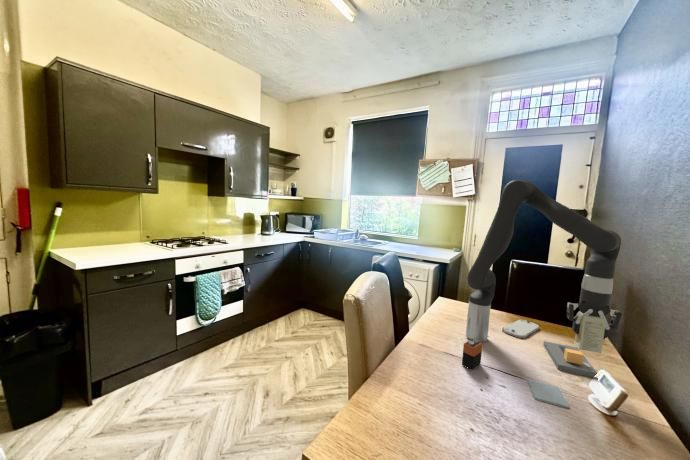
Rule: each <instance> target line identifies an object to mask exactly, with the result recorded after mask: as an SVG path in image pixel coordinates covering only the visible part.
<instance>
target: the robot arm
mask: <svg viewBox="0 0 690 460" xmlns="http://www.w3.org/2000/svg"><path fill="white" fill-rule="evenodd" d="M522 204H525V205H526V206H530V207H531V208H534V209H535V210H537V211H539V212H540V213H541V214H543V215H544V217H546V218H547V219H548V220H549V221H550V222H552V223H553V224H554V225H556V226H557V227H559V228H561V230H564V231H565V232H567V233H568V234H571V235H572V236H573V237H575V238H576V239H577V240H579V241H580V242H581V243H583V244H584V245H585V246H586V247H588V248H590V249H591V251H590V257H588V259H587V260H586V263H585V269H584V275H583V278H582V281H581V285H580V286H581V288H580V289H581V290H580V295H579V301H578V302H577V303H575V302H574V303H573V302H570V301H568V302H567V303H566V317H567V319H568V320H569V321H570V322H572V328H571V329H572V331H573V333H575V334H579V328H580V324H579V323H580V322H581V319H582V315H585V316H588V315H589V316H595V317H600V318H603V319H606V323H605V331H604V338H603V341H605V340H606V339H607V338H608V336H609V330H612V329H614V330H617V329H618V327H619V324H620V321H621V317H622V315H623V313H622V312H621V311H619V310H618V309H611V307H610V305H611V301H612V296H613V295H612V294H613V288H614V277H615V276H614V275H615V268H616V262H617V259H618V256H619V253H620V250H621V245H622V239H621V238H622V237H620V235H619V234H618V233H617V232H615V231H613V230H608V229H607V230H606V229H603V228H602V227H600V226H598V225H596V224H595V223H593V222H591V221H592V220H591V219H589V218H587V217H586V216H584V215H582V214H580V213H579V212H577V211H575V210H573V209H572V208H570V207H568V206H566V205H565V204H562V203H560V202H559V201H557V200H555V199H554V198H552V197H550V196H549V195H547V194H546V193H544V192H543V191H542V190H541V189H540V188H538V187H537V186H536V185H535V184H533V182H531V181H529V180H523V179H514V180H511V181H509V182H507V184H506V185H505V186H504V187H503V190H502V193H501V197H500V199H499V203H498V207H497V210H496V212H495V215H494V217H493V219H492V222H491V224H490V227H489V229H488V231H487V233H486V235H485V238H484V240H483V244H482V246H481V248H480V249H479V253H478V255H477V257H476V258H475V260H474V263H473V265H472V266H471V268H470V270H469V272H468V274H467V277H466V278H467V279H466V280H467V284H468V286H469V287H470V288H471V289H474V290H473V292H471V293H470V294H469V297H468V308H467V316H466V325H465V338H466V337H467V338H466V339H469V340H471V339H477V340H478V342H481V343H485V342H487V341H488V338H489V326H490V316H491V307H492V301H493V299H494V296H495V292H496V286H497V285H496V283H497V280H496V279H497V278H496V274H495V272H493V270H492V269H491V268H492V266H493V264H494V263H495V262H496V261H497V260H498V259H499V258H500V257H501V256H502V255H503V254H504V253H505V252H506V250H507V249H508V247H509V246H510V245H509V244H510V243H511V240H512V239H513V235H514V228H515V218H516V215H517V213H518V211H519V208H520V207H521V205H522ZM577 308H578V309H579V311H578V312H582V315H580V314H579V313H578V312H577V313H576V315H575V316H574V313H575V310H577ZM609 314H610V316H611V317H610V321H609V322H608V320H607V318H606V317H607V315H609ZM575 334H574V335H575Z"/></svg>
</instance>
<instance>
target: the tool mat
mask: <svg viewBox="0 0 690 460" xmlns="http://www.w3.org/2000/svg"><path fill="white" fill-rule="evenodd" d="M527 383H528V385H529V388H530V391H531V393H532V396H533V398H534V400H537V401H540V402H544V403H548V404H552V405H555V406H558V407H561V408H562V407H563V408H565V409H570V406H569V403H568V401H567V400H566V398H565V396H564V394H563V392H562V390H561V388H560V387H559V386H557V385H552V384H549V383H548V384H547V383H543V382H539V381H536V380H532V379H527Z"/></svg>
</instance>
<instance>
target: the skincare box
mask: <svg viewBox="0 0 690 460" xmlns="http://www.w3.org/2000/svg"><path fill="white" fill-rule="evenodd" d="M577 313H579V314H580V315H582V312H579V311H578V312H577ZM606 320H607V318H606V319H603V318H600V317H595V316H589V315H588V316H585V315H582V319H581V322H580V323H579V324H580V328H579V334H574V341H573V344H574V345H575V347H576V348H578V350H579V351H586V352H592V353H597V354H601V353H602V352H603V344H604V339H603V338H604V331H605V323H606Z"/></svg>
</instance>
